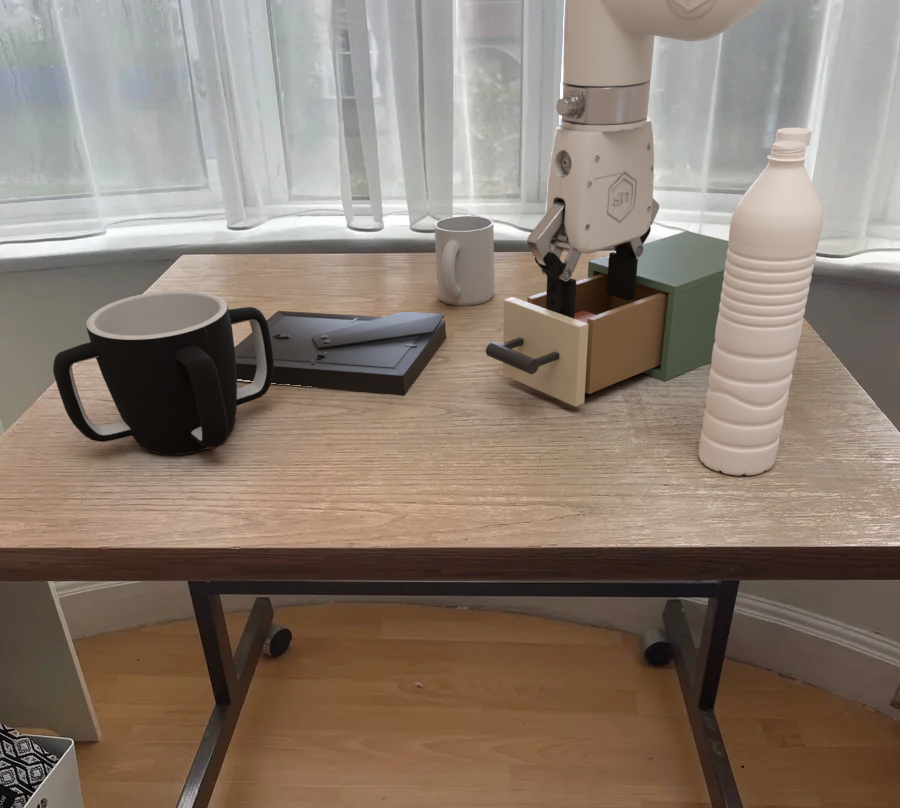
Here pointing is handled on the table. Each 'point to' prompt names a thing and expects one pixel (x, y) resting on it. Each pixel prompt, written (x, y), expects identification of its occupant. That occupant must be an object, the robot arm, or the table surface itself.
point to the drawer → (582, 340)
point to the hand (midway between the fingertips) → (590, 306)
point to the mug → (167, 369)
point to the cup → (465, 260)
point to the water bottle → (761, 311)
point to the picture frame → (347, 350)
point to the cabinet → (682, 295)
